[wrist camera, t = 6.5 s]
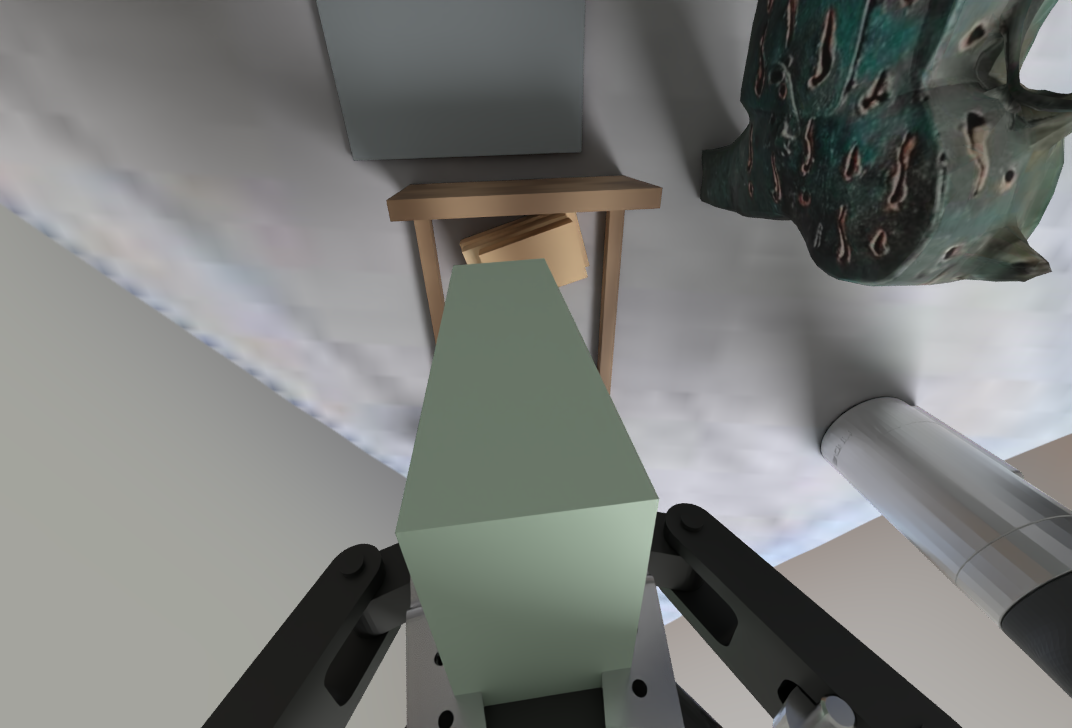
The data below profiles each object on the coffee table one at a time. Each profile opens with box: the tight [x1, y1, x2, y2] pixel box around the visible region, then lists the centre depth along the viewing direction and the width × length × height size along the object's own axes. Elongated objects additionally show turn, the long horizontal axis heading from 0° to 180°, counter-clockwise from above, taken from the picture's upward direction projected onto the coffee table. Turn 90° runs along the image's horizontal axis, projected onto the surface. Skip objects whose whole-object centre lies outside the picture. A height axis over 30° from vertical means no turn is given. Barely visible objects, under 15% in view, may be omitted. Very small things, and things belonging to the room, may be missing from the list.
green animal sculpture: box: [700, 0, 1072, 286], centre depth 15 cm, size 20×6×20 cm, turn 8°
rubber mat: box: [316, 0, 585, 161], centre depth 21 cm, size 14×14×1 cm
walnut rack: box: [386, 175, 662, 395], centre depth 29 cm, size 14×24×7 cm, turn 2°
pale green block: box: [395, 258, 659, 706], centre depth 12 cm, size 3×12×10 cm, turn 3°
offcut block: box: [460, 212, 589, 287], centre depth 27 cm, size 8×4×4 cm, turn 108°
